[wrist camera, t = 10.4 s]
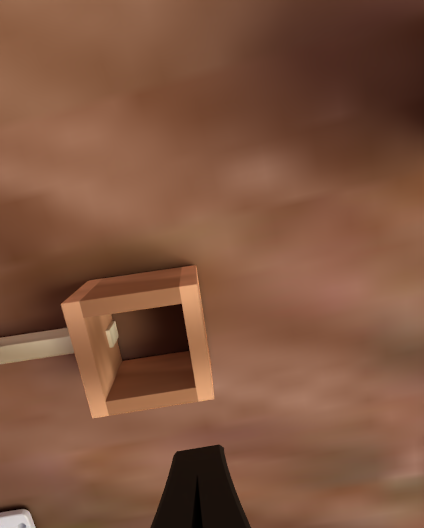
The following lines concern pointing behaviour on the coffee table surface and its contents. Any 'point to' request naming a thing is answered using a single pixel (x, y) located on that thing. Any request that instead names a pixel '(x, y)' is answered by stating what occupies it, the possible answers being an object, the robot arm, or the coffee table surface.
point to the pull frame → (107, 349)
